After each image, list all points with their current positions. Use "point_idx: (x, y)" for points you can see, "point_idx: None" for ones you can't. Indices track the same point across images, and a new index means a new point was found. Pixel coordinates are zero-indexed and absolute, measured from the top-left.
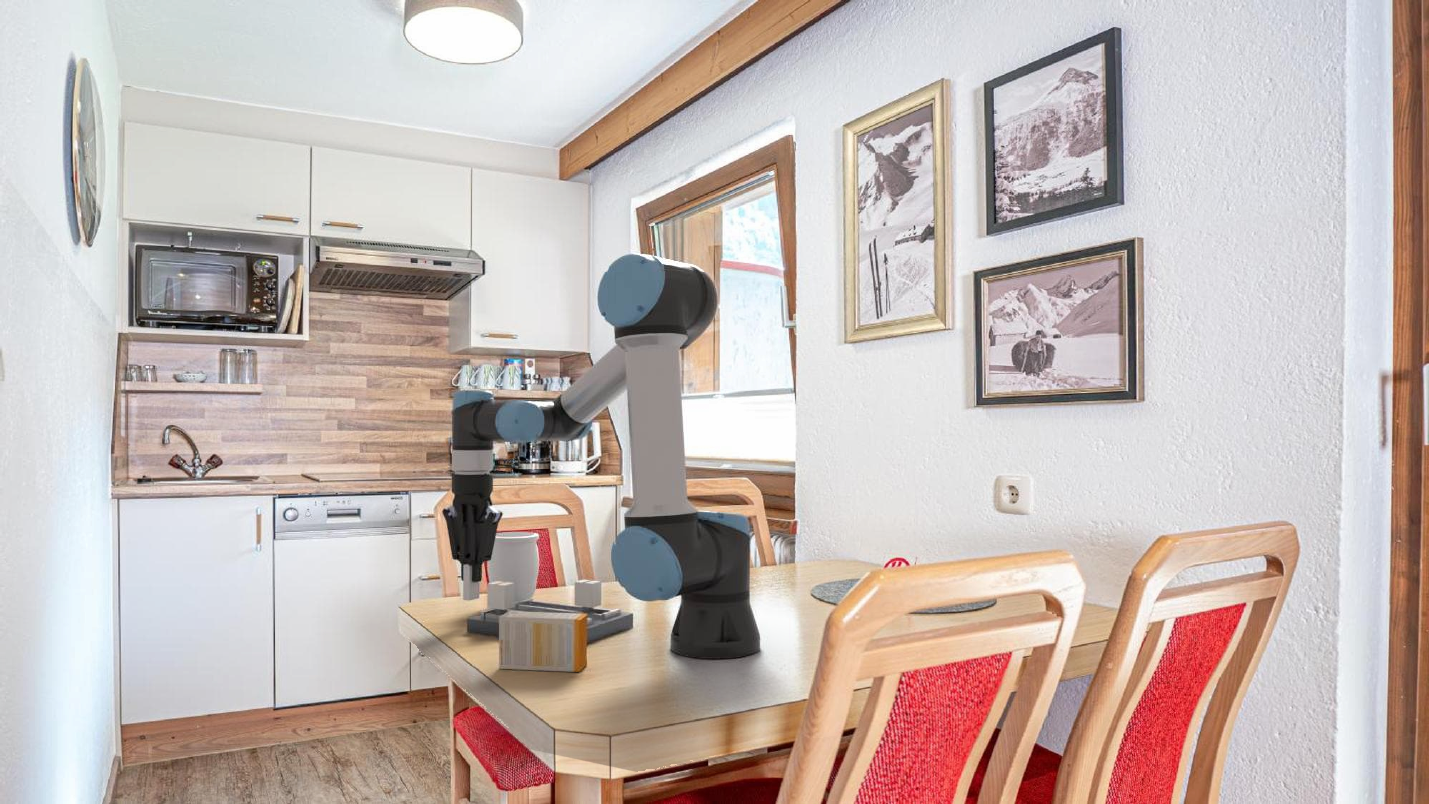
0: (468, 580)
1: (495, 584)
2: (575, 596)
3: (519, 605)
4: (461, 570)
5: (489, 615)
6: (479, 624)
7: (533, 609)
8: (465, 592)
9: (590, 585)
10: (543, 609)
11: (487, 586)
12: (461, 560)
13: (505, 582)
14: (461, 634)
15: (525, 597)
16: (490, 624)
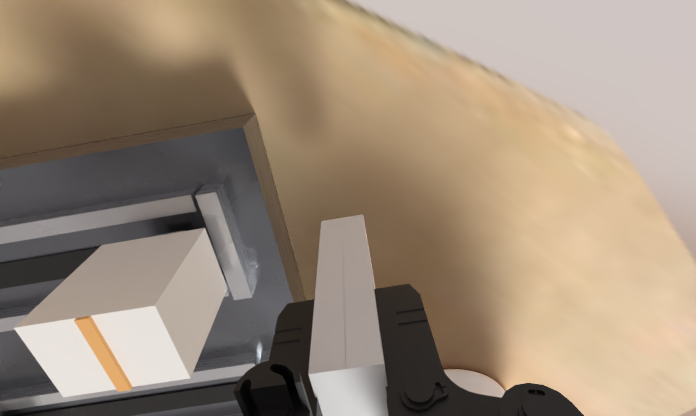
0: (323, 284)
1: (86, 316)
2: None
3: (246, 364)
4: (427, 333)
5: (168, 197)
6: (174, 135)
7: None
8: (347, 236)
9: None
10: None
11: (162, 293)
12: (417, 394)
13: (114, 379)
14: (243, 78)
15: None
16: (108, 148)
